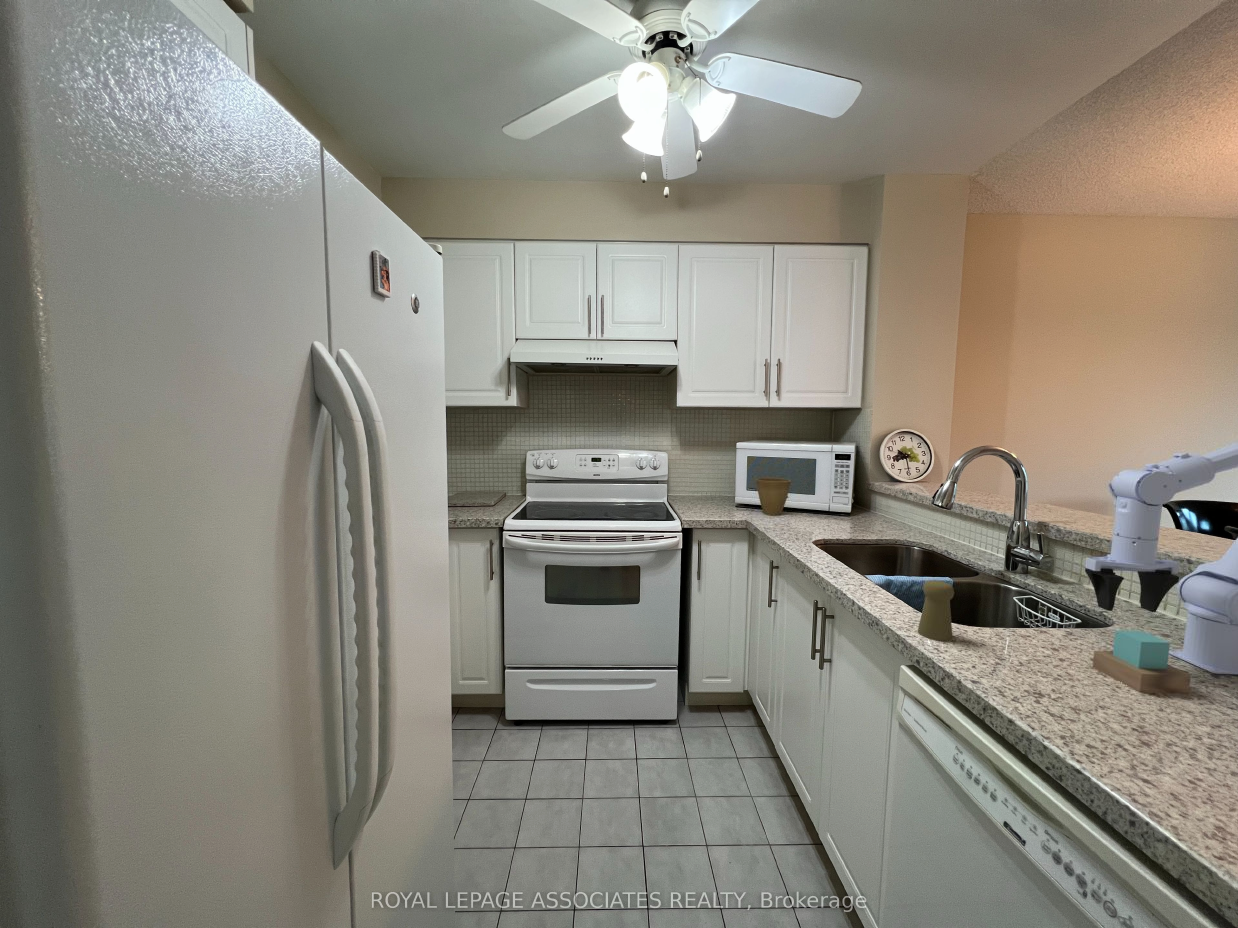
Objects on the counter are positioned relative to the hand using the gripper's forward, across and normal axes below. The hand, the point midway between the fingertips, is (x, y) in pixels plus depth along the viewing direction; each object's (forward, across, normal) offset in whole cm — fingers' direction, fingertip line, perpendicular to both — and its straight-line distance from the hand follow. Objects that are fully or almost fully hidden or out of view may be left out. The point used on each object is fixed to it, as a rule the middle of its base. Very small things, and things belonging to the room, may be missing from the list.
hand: (1126, 609), depth 91 cm
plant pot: (+10, +28, -136) cm, 139 cm away
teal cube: (+6, +4, +8) cm, 11 cm away
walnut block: (+10, +4, +8) cm, 13 cm away
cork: (+10, +29, -8) cm, 32 cm away
